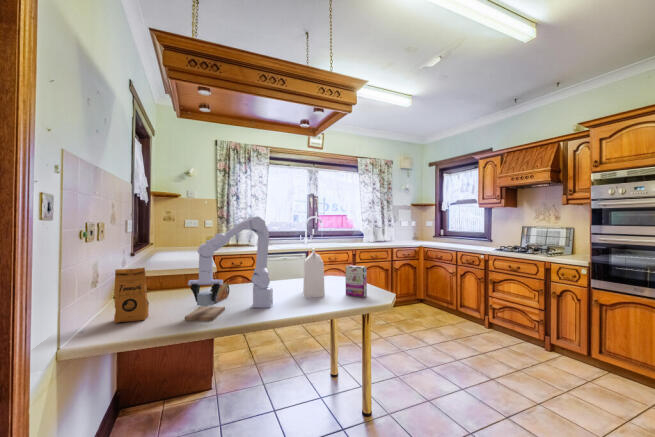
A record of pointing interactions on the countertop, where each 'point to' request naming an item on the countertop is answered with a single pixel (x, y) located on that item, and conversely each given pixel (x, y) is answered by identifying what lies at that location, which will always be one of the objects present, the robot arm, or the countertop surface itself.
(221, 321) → the countertop surface
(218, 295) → the tin
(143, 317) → the coffee package
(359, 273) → the candy bar box
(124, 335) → the countertop surface
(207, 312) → the walnut board
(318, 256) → the milk
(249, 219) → the robot arm
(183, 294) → the countertop surface
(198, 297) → the slate cube
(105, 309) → the countertop surface
